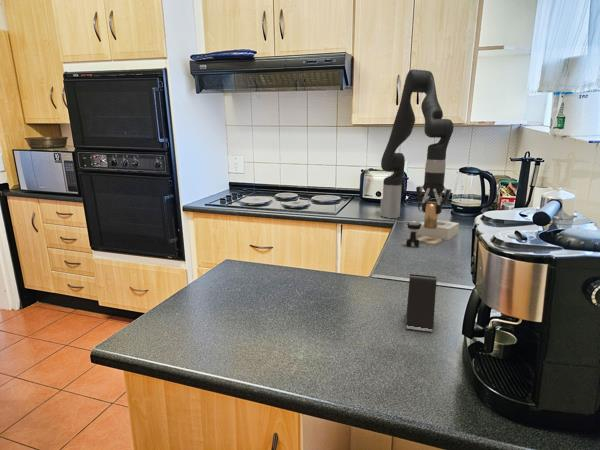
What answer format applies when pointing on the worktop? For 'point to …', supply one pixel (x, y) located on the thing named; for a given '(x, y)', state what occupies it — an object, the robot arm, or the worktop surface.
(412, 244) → the black stand
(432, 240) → the pad
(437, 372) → the worktop surface
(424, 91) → the robot arm
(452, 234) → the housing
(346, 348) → the worktop surface
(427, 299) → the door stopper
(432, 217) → the amber cylinder
